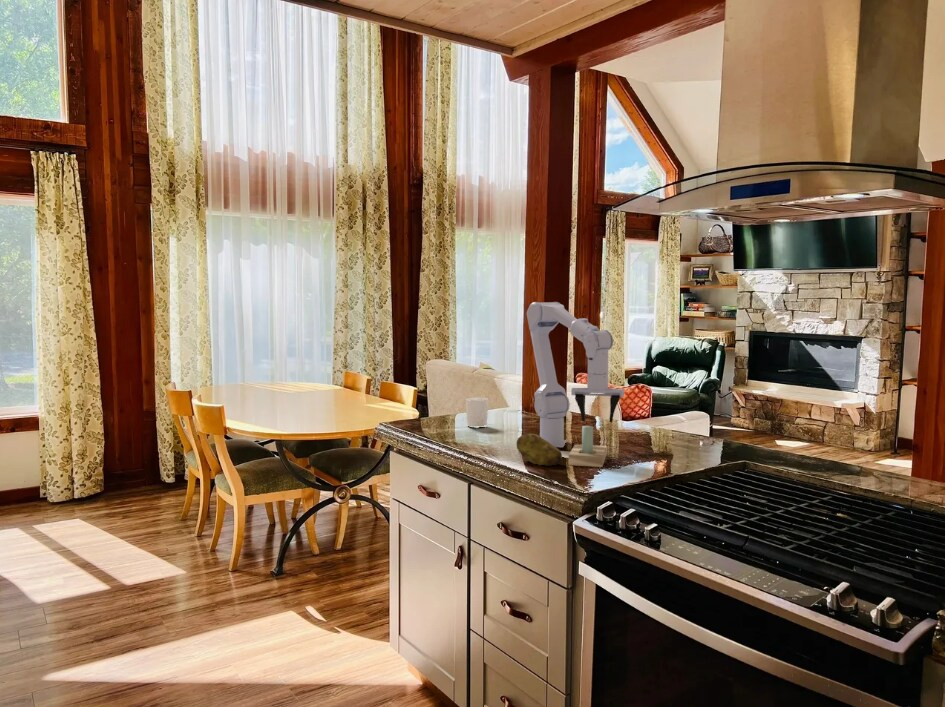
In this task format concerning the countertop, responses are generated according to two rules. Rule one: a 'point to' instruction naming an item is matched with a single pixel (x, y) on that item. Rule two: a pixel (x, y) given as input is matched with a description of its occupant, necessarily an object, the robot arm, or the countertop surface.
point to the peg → (587, 439)
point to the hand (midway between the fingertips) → (597, 421)
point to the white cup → (477, 411)
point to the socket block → (587, 456)
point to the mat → (565, 454)
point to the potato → (538, 450)
